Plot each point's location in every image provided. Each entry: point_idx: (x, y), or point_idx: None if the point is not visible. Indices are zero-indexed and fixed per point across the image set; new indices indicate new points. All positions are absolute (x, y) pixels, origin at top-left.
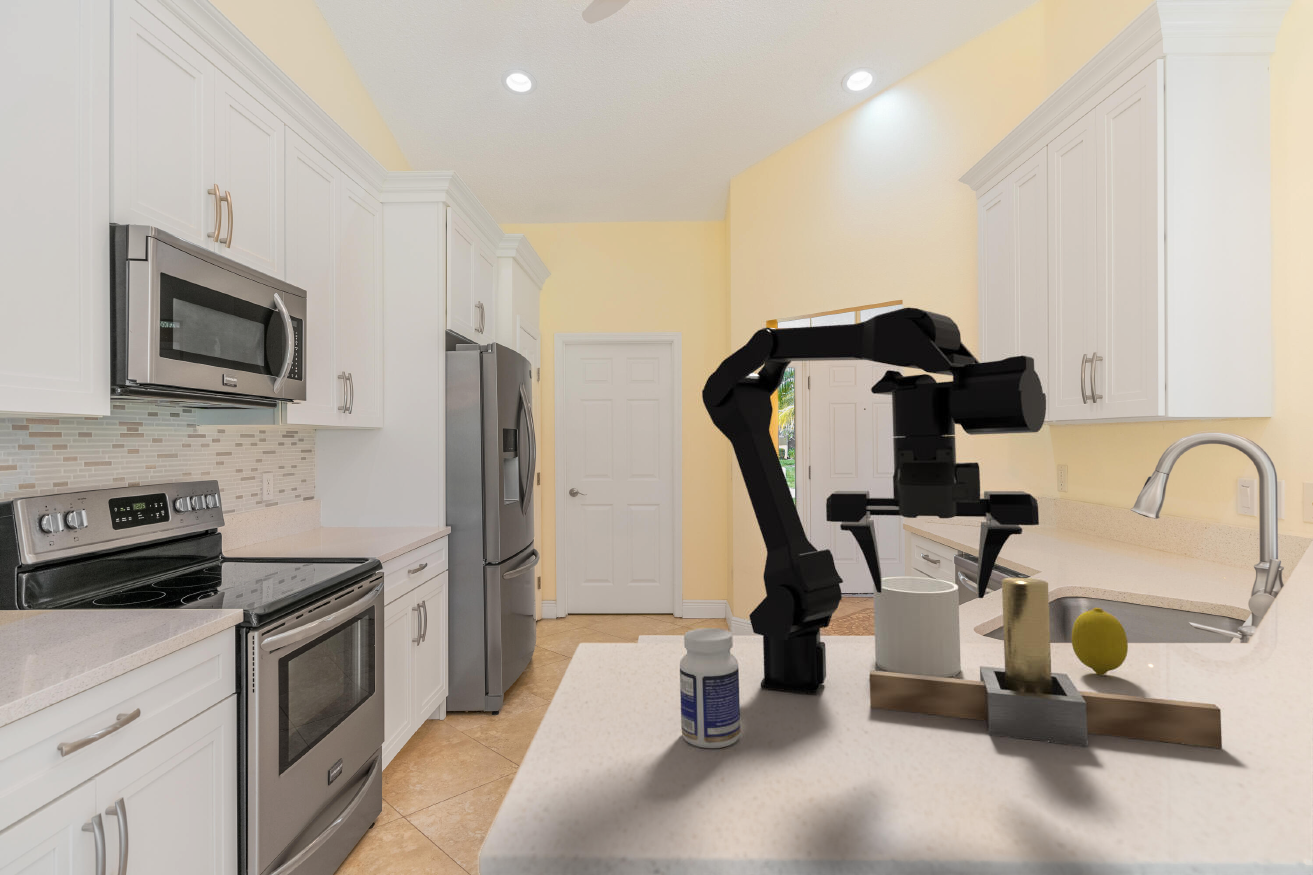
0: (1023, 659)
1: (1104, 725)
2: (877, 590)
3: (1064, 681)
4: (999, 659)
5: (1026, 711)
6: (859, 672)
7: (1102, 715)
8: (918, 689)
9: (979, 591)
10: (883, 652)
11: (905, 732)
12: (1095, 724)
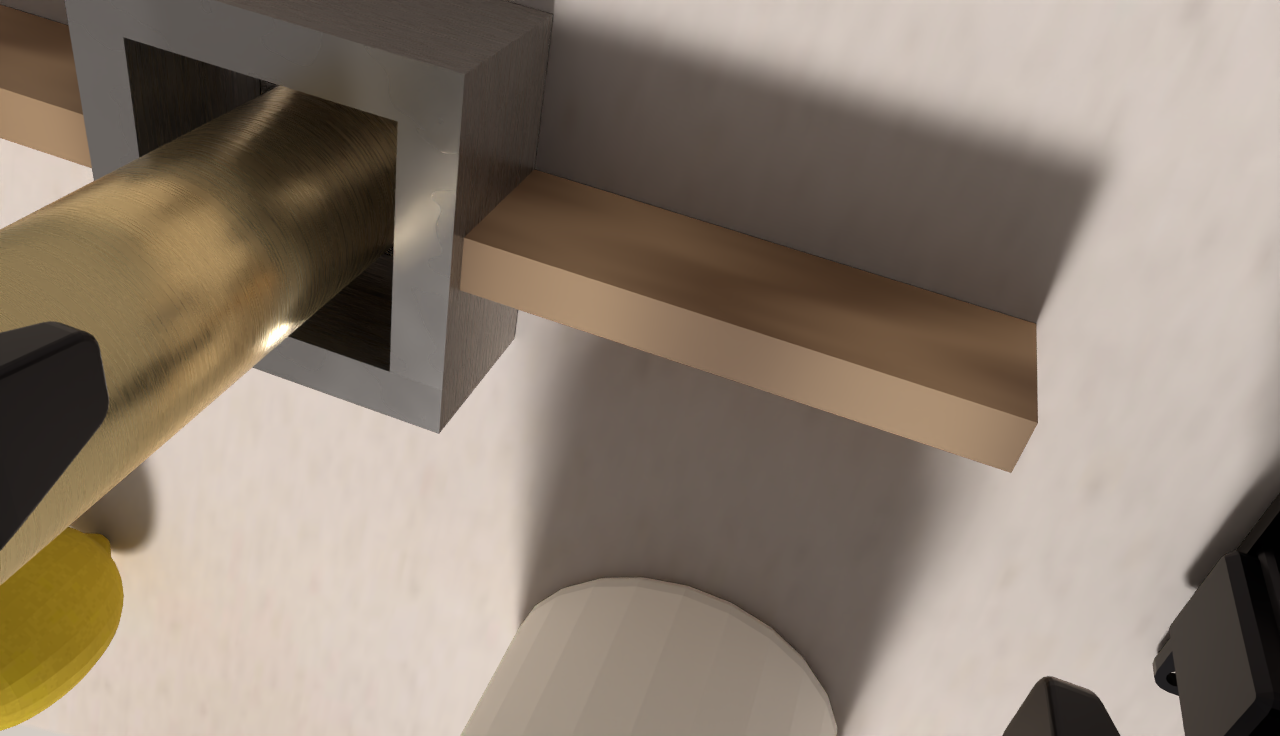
0: (191, 194)
1: None
2: (1096, 697)
3: None
4: (371, 694)
5: (339, 3)
6: (943, 681)
7: None
8: (785, 308)
9: (31, 351)
10: None
11: (958, 13)
12: None
